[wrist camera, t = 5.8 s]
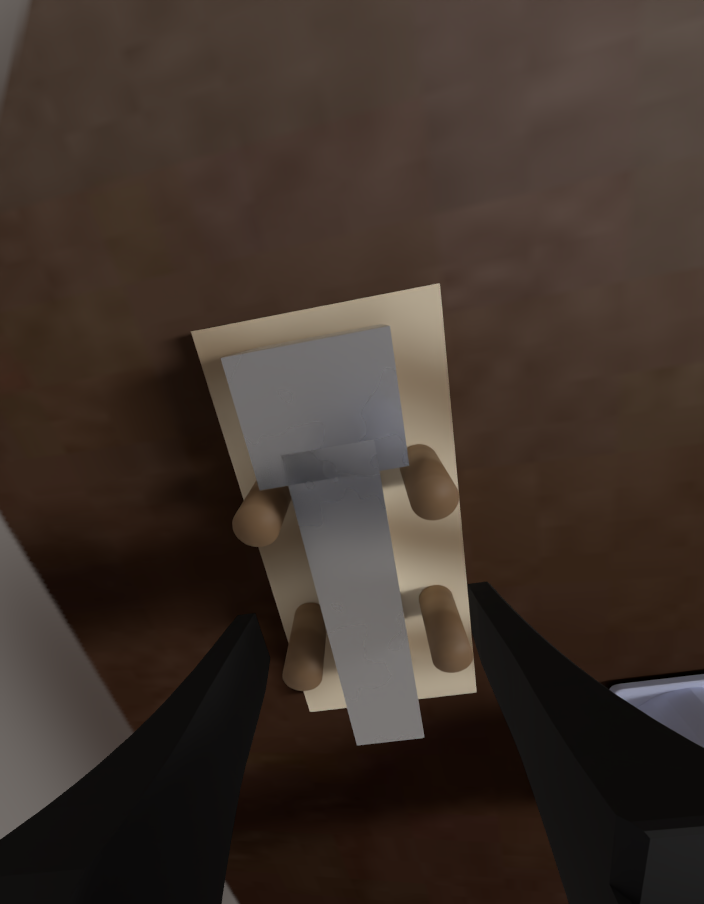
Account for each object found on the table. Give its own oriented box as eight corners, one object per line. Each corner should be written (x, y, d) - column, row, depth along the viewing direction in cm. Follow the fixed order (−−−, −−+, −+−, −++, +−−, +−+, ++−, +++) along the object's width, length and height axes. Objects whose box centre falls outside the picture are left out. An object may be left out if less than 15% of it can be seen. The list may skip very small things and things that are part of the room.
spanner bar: (428, 654, 18) (446, 735, 15) (339, 666, 19) (335, 747, 15) (380, 324, 13) (390, 325, 10) (256, 347, 13) (220, 358, 10)
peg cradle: (469, 671, 20) (498, 761, 16) (312, 690, 21) (302, 781, 17) (432, 286, 14) (466, 272, 10) (203, 330, 14) (142, 335, 10)
